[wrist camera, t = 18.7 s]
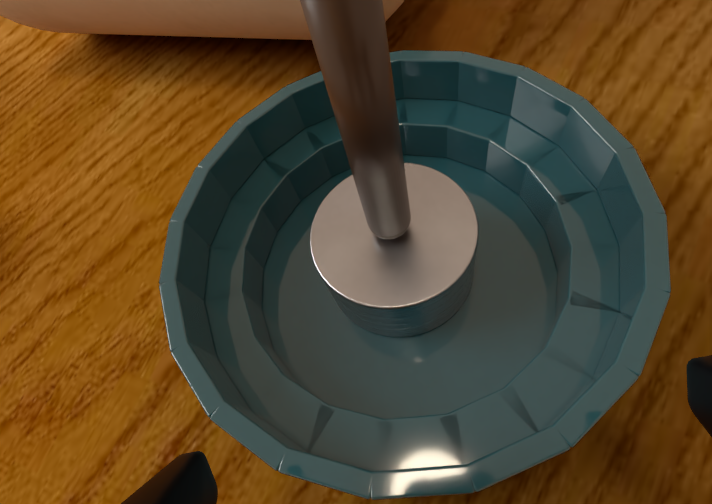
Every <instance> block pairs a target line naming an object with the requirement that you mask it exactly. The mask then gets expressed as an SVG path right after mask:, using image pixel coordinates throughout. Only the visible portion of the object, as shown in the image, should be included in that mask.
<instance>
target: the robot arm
mask: <svg viewBox="0 0 712 504" xmlns="http://www.w3.org/2000/svg"><path fill="white" fill-rule="evenodd" d="M687 390H688V402H689V405H690V408H691V410H692V412H693V413H694V415H695V416H696V417H697V419H698V420H699V421H700V423H701V424H702V425H703V426H704V428H705V429H706V430H707V432H708V433H709V434H710V436H711V437H712V355H710V356H705V357H699V358H694V359H691V360H690V361H689V362H688V364H687ZM217 495H218V491H217V485H216V482H215V479H214V476H213V474H212V471H211V469H210V466H209V464H208V461H207V459H206V457H205V455H204V454H203V453H202V452H200V451H196V452H191V453H186V454H181V455H179V456H178V457H177V458H175V459H174V460H173V461H172V462H171V463H169V464H168V465H167V466H166V467H165V468H163V469H162V470H161V471H160V472H159V473H157V474H156V475H155V476H154V477H153V478H151V479H150V480H149V481H148V482H146V483H145V484H144V485H143V486H142V487H140V488H139V489H138V490H137V491H136V492H134V493H133V494H132V495H131V496H130V497H128V498H127V499H126V500H125V501H124V502H122V503H121V504H216V502H217Z"/></svg>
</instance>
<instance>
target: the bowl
mask: <svg viewBox="0 0 712 504" xmlns="http://www.w3.org/2000/svg"><path fill="white" fill-rule="evenodd" d="M389 54H390V61H391V69H392V76H393V84H394V91H395V99H396V107H397V114H398V122H399V129H400V137H401V145H402V152H403V160H404V162H407V163H415V164H421V165H424V166H428V167H431V168H433V169H435V170H438V171H440V172H442V173H443V174H445V175H447V176H448V177H450V178H451V179H452V180H454V181H455V182H456V183H457V184H458V185H459V186H460V187H461V188H462V189H463V190H464V192H465V193H466V194H467V196H468V197H469V199H470V201H471V202H472V204H473V206H474V209H475V212H476V215H477V220H478V230H479V236H478V243H477V251H476V259H475V267H474V274H473V282H472V285H471V289H470V291H469V294H468V296H467V298H466V300H465V301H464V303H463V304H462V306H461V307H460V309H459V310H458V311H457V312H456V313H455V314H454V315H453V316H452V317H451V318H450V319H449V320H448V321H446V322H445V323H443V324H442V325H440V326H439V327H437V328H435V329H433V330H431V331H428V332H425V333H422V334H419V335H414V336H408V337H389V336H383V335H379V334H376V333H372V332H370V331H368V330H365V329H363V328H361V327H360V326H358V325H357V324H355V323H354V322H353V321H351V320H350V319H349V318H348V317H347V316H346V315H345V314H344V313H343V312H342V310H341V309H340V308H339V306H338V304H337V303H336V301H335V300H334V298H333V296H332V295H331V293H330V291H329V290H328V288H327V286H326V285H325V283H324V281H323V280H322V278H321V276H320V275H319V273H318V271H317V269H316V267H315V265H314V263H313V259H312V256H311V251H310V231H311V225H312V222H313V219H314V216H315V214H316V211H317V209H318V207H319V206H320V204H321V202H322V201H323V199H324V198H325V197H326V196H327V194H328V193H329V192H330V191H331V190H332V189H333V188H334V187H335V186H336V185H337V184H339V183H340V182H341V181H343V180H344V179H345V178H347V177H349V176H350V175H352V171H351V168H350V165H349V161H348V158H347V155H346V151H345V148H344V145H343V141H342V138H341V135H340V131H339V128H338V125H337V122H336V118H335V115H334V112H333V108H332V105H331V102H330V98H329V95H328V92H327V88H326V85H325V82H324V79H323V75H322V72H321V71H319V72H317V73H315V74H312V75H310V76H308V77H305V78H303V79H301V80H298V81H296V82H294V83H291V84H289V85H287V86H286V87H283V88H282V89H281V90H279V91H278V92H276V93H275V94H274V95H272V96H271V97H269V98H268V99H266V100H265V101H264V102H262V103H261V104H259V105H258V106H257V107H255V108H254V109H252V110H251V111H250V112H248V113H247V114H245V115H244V116H243V117H241V118H240V119H238V121H237V122H235V123H234V124H233V125H232V127H231V128H230V129H229V130H228V131H227V132H226V133H225V135H224V136H223V137H222V138H221V139H220V140H219V141H218V143H217V144H216V145H215V146H214V147H213V148H212V149H211V151H210V152H209V153H208V154H207V155H206V156H205V157H204V159H203V160H202V161H201V162H200V163H199V164H198V167H196V168H195V170H194V172H193V174H192V176H191V178H190V180H189V182H188V184H187V186H186V188H185V190H184V192H183V195H182V197H181V199H180V201H179V203H178V205H177V207H176V209H175V211H174V213H173V215H172V217H171V219H170V222H169V226H168V232H167V238H166V244H165V250H164V256H163V262H162V268H161V274H160V280H159V284H160V285H159V289H160V295H161V301H162V307H163V312H164V318H165V324H166V330H167V336H168V342H169V348H170V351H171V355H172V356H173V358H174V360H175V362H176V363H177V365H178V367H179V368H180V370H181V372H182V373H183V375H184V377H185V379H186V380H187V382H188V384H189V385H190V387H191V389H192V390H193V392H194V394H195V395H196V397H197V399H198V401H199V402H200V404H201V406H202V407H203V409H204V411H205V412H206V414H207V416H208V417H209V418H210V419H211V421H213V422H214V423H215V424H216V425H218V426H219V427H220V428H222V429H223V430H224V431H225V432H227V433H228V434H229V435H231V436H232V437H233V438H234V439H236V440H237V441H238V442H240V443H241V444H242V445H243V446H245V447H246V448H247V449H248V450H250V451H251V452H252V453H254V454H255V455H256V456H257V457H259V458H260V459H261V460H263V461H264V462H265V463H266V464H268V465H269V466H270V467H272V468H273V469H274V470H276V471H279V472H280V473H282V474H286V475H289V476H292V477H295V478H299V479H302V480H305V481H309V482H312V483H315V484H319V485H322V486H325V487H328V488H332V489H335V490H338V491H342V492H345V493H348V494H352V495H355V496H358V497H362V498H365V499H372V500H382V499H397V498H412V497H427V496H442V495H457V494H472V493H474V492H479V491H482V490H484V489H486V488H488V487H490V486H492V485H495V484H497V483H499V482H501V481H503V480H506V479H508V478H510V477H512V476H514V475H516V474H519V473H521V472H523V471H525V470H527V469H529V468H532V467H534V466H536V465H538V464H540V463H543V462H545V461H547V460H549V459H551V458H553V457H556V456H558V455H560V454H562V453H564V452H566V451H569V449H570V448H572V447H574V446H575V445H576V444H577V443H578V442H579V441H580V440H581V439H582V438H583V437H584V436H585V435H586V434H587V432H588V431H589V430H590V429H591V428H592V427H593V426H594V425H595V424H596V423H597V422H598V421H599V420H600V419H601V418H602V417H603V416H604V415H605V414H606V412H607V411H608V410H609V409H610V408H611V407H612V406H613V405H614V404H615V403H616V402H617V401H618V400H619V399H620V398H621V397H622V396H623V395H624V394H625V392H626V391H627V390H628V389H629V388H630V387H631V386H632V385H633V384H634V383H635V382H636V381H637V380H638V377H639V376H640V375H641V373H642V371H643V368H644V365H645V362H646V360H647V357H648V354H649V352H650V349H651V346H652V344H653V341H654V338H655V336H656V333H657V330H658V327H659V325H660V322H661V319H662V317H663V314H664V311H665V309H666V306H667V303H668V301H669V298H670V292H671V286H670V268H669V251H668V233H667V216H666V214H665V210H664V208H663V206H662V204H661V202H660V200H659V198H658V195H657V193H656V191H655V189H654V187H653V185H652V183H651V181H650V179H649V177H648V175H647V172H646V170H645V168H644V166H643V164H642V162H641V160H640V158H639V156H638V154H637V151H636V149H635V148H633V145H632V144H631V143H630V142H629V141H628V140H627V139H626V138H625V137H624V136H623V135H622V134H621V133H620V132H619V131H618V130H617V129H616V128H615V127H614V126H613V125H612V124H611V123H610V122H609V121H608V120H607V119H606V118H605V117H604V116H603V115H602V114H601V113H600V112H599V111H598V110H597V109H596V108H595V107H594V106H593V105H592V104H591V103H590V102H589V101H588V100H587V99H584V97H582V96H580V95H578V94H577V93H575V92H573V91H571V90H569V89H567V88H565V87H564V86H562V85H560V84H558V83H556V82H554V81H552V80H550V79H549V78H547V77H545V76H543V75H541V74H539V73H537V72H536V71H534V70H532V69H530V68H528V67H525V66H522V65H518V64H514V63H510V62H506V61H502V60H498V59H493V58H489V57H485V56H481V55H477V54H473V53H469V52H463V51H416V50H402V51H395V52H390V53H389Z"/></svg>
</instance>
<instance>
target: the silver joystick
mask: <svg viewBox="0 0 712 504" xmlns="http://www.w3.org/2000/svg"><path fill="white" fill-rule="evenodd" d="M300 2H301V6H302V9H303V12H304V16H305V19H306V22H307V26H308V29H309V32H310V36H311V39H312V42H313V45H314V49H315V52H316V55H317V59H318V62H319V65H320V69H321V72H322V75H323V79H324V82H325V85H326V88H327V92H328V95H329V98H330V102H331V105H332V108H333V112H334V115H335V118H336V122H337V125H338V128H339V131H340V135H341V138H342V141H343V145H344V148H345V151H346V155H347V158H348V161H349V165H350V168H351V171H352V175H350V176H349V177H347V178H345V179H344V180H343V181H341V182H340V183H339V184H337V185H336V186H335V187H334V188H333V189H332V190H331V191H330V192H329V193H328V194H327V196H326V197H325V198H324V199H323V201H322V202H321V204H320V206H319V207H318V209H317V211H316V214H315V216H314V219H313V222H312V225H311V231H310V251H311V256H312V259H313V263H314V265H315V267H316V269H317V271H318V273H319V275H320V276H321V278H322V280H323V281H324V283H325V285H326V286H327V288H328V290H329V291H330V293H331V295H332V296H333V298H334V300H335V301H336V303H337V304H338V306H339V308H340V309H341V310H342V312H343V313H344V314H345V315H346V316H347V317H348V318H349V319H350V320H351V321H353V322H354V323H355V324H357V325H358V326H360V327H361V328H363V329H365V330H368V331H370V332H372V333H376V334H379V335H383V336H389V337H408V336H414V335H419V334H422V333H425V332H428V331H431V330H433V329H435V328H437V327H439V326H440V325H442V324H443V323H445V322H446V321H448V320H449V319H450V318H451V317H452V316H453V315H454V314H455V313H456V312H457V311H458V310H459V309H460V307H461V306H462V304H463V303H464V301H465V300H466V298H467V296H468V294H469V291H470V289H471V285H472V282H473V274H474V267H475V259H476V251H477V243H478V236H479V230H478V220H477V215H476V212H475V209H474V206H473V204H472V202H471V201H470V199H469V197H468V196H467V194H466V193H465V192H464V190H463V189H462V188H461V187H460V186H459V185H458V184H457V183H456V182H455V181H454V180H452V179H451V178H450V177H448V176H447V175H445V174H443V173H442V172H440V171H438V170H435V169H433V168H431V167H428V166H424V165H421V164H415V163H407V162H404V160H403V152H402V145H401V137H400V129H399V122H398V114H397V107H396V99H395V91H394V84H393V76H392V69H391V61H390V54H389V46H388V38H387V31H386V23H385V16H384V8H383V0H300Z"/></svg>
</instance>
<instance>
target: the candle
mask: <svg viewBox="0 0 712 504" xmlns="http://www.w3.org/2000/svg"><path fill="white" fill-rule="evenodd" d="M404 1H405V0H383V8H384V16H385V22H386V21H387V20H388V18H389V17H390V16H391V15H392V14H393V13H394V12H395V11H396V10H397V9H398V8H399V6H400V5H401V4H402V3H403V2H404ZM0 15H1V16H3V17H5V18H8V19H10V20H12V21H14V22H17V23H20V24H23V25H26V26H29V27H33V28H37V29H40V30H46V31H52V32H64V33H84V34H119V35H155V36H191V37H226V38H262V39H298V40H312V39H311V36H310V32H309V29H308V26H307V22H306V19H305V16H304V12H303V9H302V6H301V2H300V0H0Z"/></svg>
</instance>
